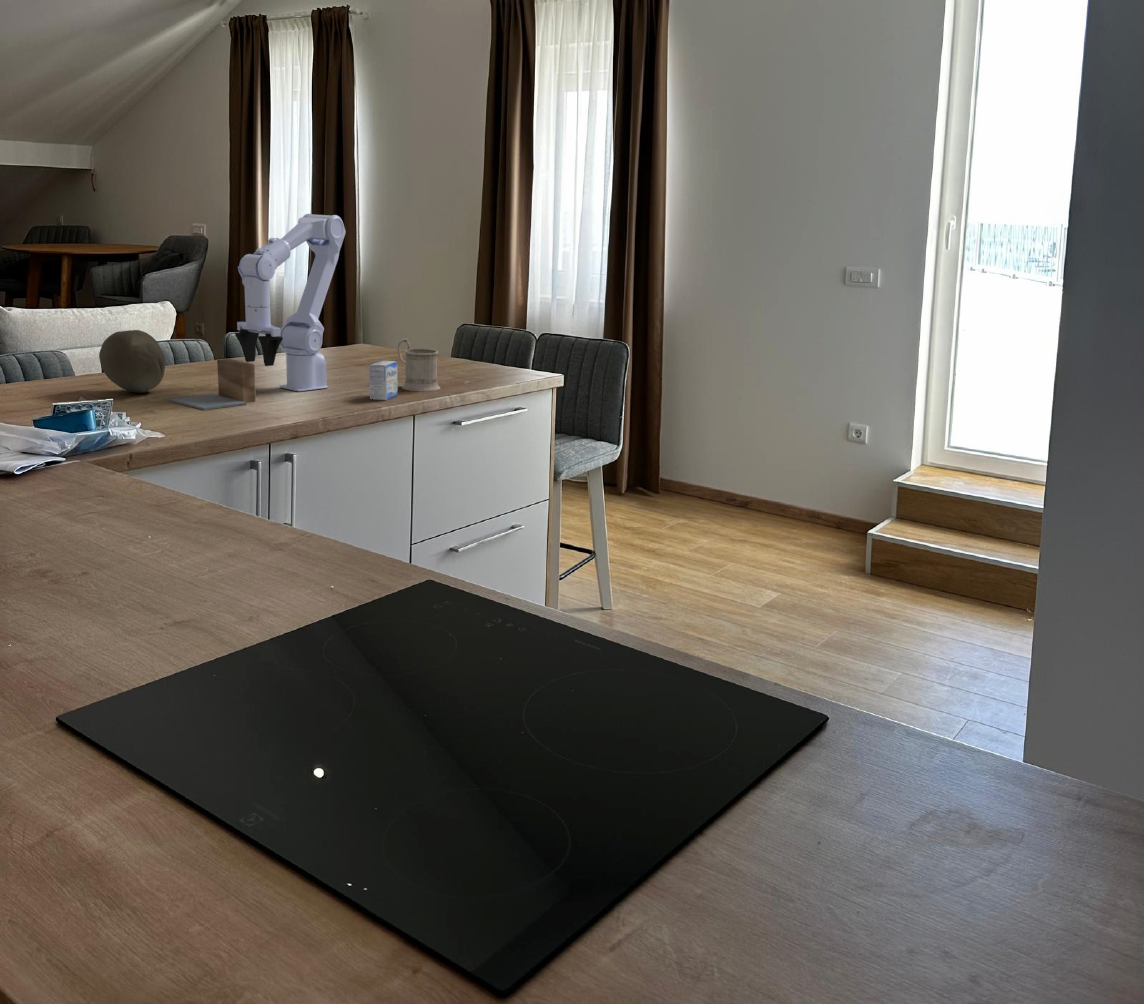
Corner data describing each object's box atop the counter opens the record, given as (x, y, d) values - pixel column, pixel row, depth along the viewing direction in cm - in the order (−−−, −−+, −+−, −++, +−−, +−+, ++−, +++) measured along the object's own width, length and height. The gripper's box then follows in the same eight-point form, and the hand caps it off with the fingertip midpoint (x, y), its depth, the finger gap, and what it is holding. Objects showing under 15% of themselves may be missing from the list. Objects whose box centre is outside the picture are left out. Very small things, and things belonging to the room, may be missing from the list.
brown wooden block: (231, 395, 267) (230, 358, 265) (256, 401, 261) (254, 363, 259) (218, 397, 265) (217, 359, 262) (243, 403, 259) (242, 365, 256)
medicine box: (386, 401, 269) (386, 365, 267) (369, 399, 270) (368, 364, 268) (397, 395, 276) (397, 361, 274) (380, 394, 277) (380, 359, 275)
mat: (211, 395, 266) (211, 393, 265) (246, 404, 257) (246, 402, 257) (170, 401, 257) (170, 398, 257) (204, 410, 249) (204, 408, 249)
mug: (447, 389, 289) (448, 342, 286) (418, 392, 282) (418, 345, 279) (412, 381, 298) (413, 336, 295) (383, 384, 291) (383, 338, 288)
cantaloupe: (150, 386, 275) (147, 325, 271) (176, 394, 265) (173, 331, 261) (93, 391, 265) (88, 328, 261) (118, 400, 256) (113, 335, 252)
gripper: (225, 304, 264) (227, 361, 267) (261, 310, 255) (263, 368, 258) (250, 302, 269) (252, 358, 273) (287, 308, 260) (288, 366, 264)
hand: (259, 363), depth 266 cm, fingers open, 7 cm apart
